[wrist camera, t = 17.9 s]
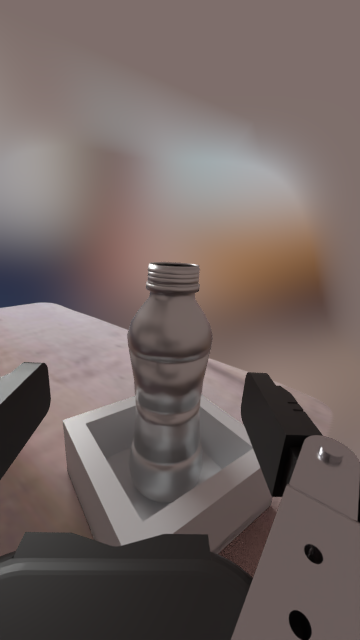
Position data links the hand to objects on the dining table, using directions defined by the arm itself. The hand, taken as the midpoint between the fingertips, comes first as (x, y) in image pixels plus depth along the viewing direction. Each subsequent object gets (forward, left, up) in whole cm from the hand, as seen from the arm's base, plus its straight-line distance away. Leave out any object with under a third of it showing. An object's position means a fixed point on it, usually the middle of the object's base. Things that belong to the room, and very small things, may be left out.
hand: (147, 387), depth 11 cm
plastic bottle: (+6, +7, -16) cm, 19 cm away
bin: (+7, +8, -17) cm, 20 cm away
